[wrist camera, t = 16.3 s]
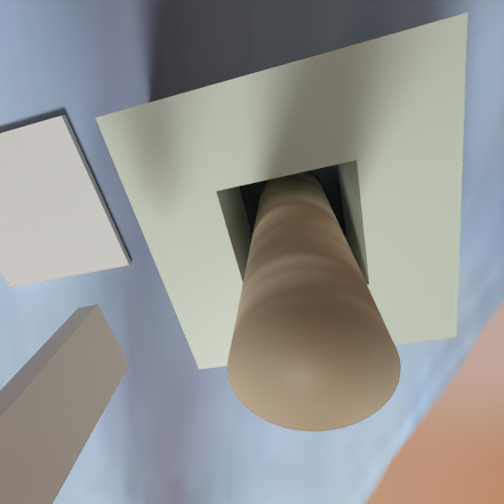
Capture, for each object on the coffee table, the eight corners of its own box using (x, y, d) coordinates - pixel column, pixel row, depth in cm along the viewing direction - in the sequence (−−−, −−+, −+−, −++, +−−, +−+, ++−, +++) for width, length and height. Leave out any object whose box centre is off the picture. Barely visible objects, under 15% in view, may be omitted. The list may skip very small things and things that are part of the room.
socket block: (217, 308, 24) (199, 369, 19) (149, 111, 18) (95, 117, 13) (412, 277, 22) (456, 337, 16) (404, 40, 16) (467, 12, 11)
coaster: (14, 284, 25) (10, 287, 24) (-70, 154, 21) (-76, 155, 20) (131, 262, 23) (129, 264, 23) (65, 115, 19) (61, 115, 19)
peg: (267, 235, 21) (249, 436, 9) (253, 176, 20) (207, 319, 7) (328, 224, 21) (403, 424, 8) (319, 162, 19) (397, 291, 6)
